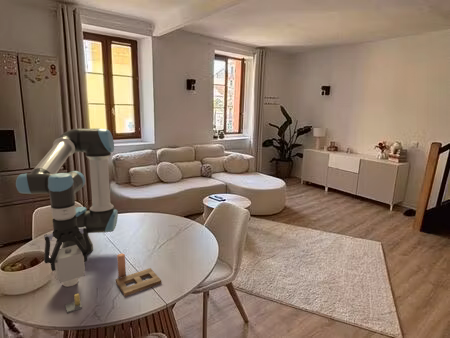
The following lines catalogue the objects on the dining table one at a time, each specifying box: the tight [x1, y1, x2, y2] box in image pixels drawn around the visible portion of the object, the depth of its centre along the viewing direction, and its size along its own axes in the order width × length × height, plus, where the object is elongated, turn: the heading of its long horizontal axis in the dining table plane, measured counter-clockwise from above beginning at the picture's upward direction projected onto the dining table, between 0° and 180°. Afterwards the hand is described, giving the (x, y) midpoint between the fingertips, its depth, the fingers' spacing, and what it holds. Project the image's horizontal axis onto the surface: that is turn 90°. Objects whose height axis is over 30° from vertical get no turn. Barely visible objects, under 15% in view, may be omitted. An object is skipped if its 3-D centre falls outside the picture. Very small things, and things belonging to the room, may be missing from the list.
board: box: [115, 267, 162, 297], centre depth 127 cm, size 12×16×2 cm
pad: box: [64, 293, 83, 314], centre depth 111 cm, size 5×5×5 cm
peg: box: [116, 253, 127, 278], centre depth 132 cm, size 3×3×10 cm
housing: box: [56, 245, 86, 284], centre depth 108 cm, size 8×8×10 cm
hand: (70, 273), depth 108 cm, fingers closed on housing, 8 cm apart
